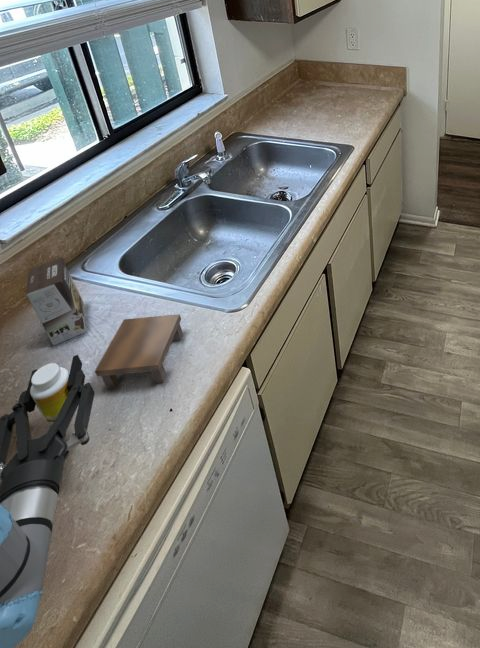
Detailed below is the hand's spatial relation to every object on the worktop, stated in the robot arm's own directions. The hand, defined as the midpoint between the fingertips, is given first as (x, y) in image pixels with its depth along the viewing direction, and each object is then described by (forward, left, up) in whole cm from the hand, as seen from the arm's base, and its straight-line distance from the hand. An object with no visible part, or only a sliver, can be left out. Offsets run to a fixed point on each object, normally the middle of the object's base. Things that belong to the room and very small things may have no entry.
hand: (57, 367), depth 83 cm
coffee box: (-11, +18, -10) cm, 23 cm away
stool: (+11, +7, -10) cm, 16 cm away
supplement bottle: (+1, -4, -6) cm, 8 cm away
